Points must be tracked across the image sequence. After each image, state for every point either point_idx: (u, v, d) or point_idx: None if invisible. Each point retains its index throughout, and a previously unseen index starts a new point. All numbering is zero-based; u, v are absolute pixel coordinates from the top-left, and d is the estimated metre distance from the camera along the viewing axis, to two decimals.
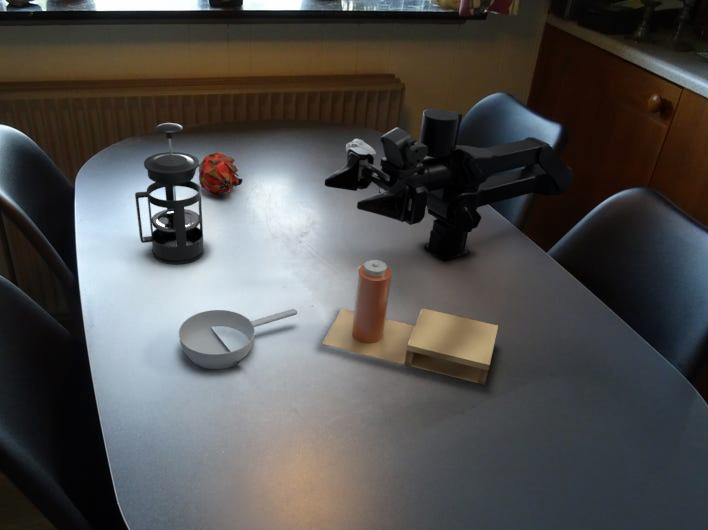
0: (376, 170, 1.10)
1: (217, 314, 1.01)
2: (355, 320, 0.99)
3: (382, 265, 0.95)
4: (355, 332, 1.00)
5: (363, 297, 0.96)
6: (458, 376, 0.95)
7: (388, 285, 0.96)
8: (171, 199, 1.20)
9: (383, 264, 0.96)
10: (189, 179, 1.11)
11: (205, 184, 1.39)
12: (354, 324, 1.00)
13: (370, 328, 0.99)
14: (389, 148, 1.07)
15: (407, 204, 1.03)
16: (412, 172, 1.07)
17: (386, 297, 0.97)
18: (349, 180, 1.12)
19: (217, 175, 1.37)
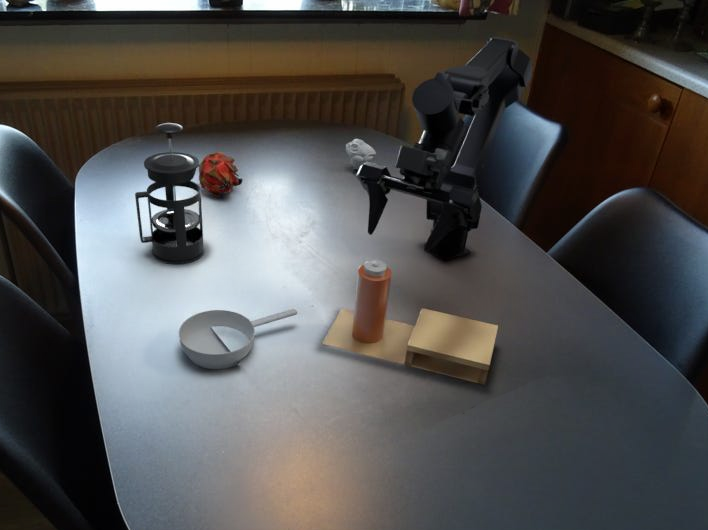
0: (401, 183, 1.01)
1: (217, 314, 1.01)
2: (355, 320, 0.99)
3: (382, 265, 0.95)
4: (355, 332, 1.00)
5: (363, 297, 0.96)
6: (458, 376, 0.95)
7: (388, 285, 0.96)
8: (172, 199, 1.20)
9: (383, 264, 0.96)
10: (189, 179, 1.11)
11: (205, 184, 1.39)
12: (354, 324, 1.00)
13: (370, 328, 0.99)
14: None
15: (465, 214, 0.98)
16: None
17: (386, 297, 0.97)
18: (381, 205, 1.03)
19: (217, 175, 1.37)
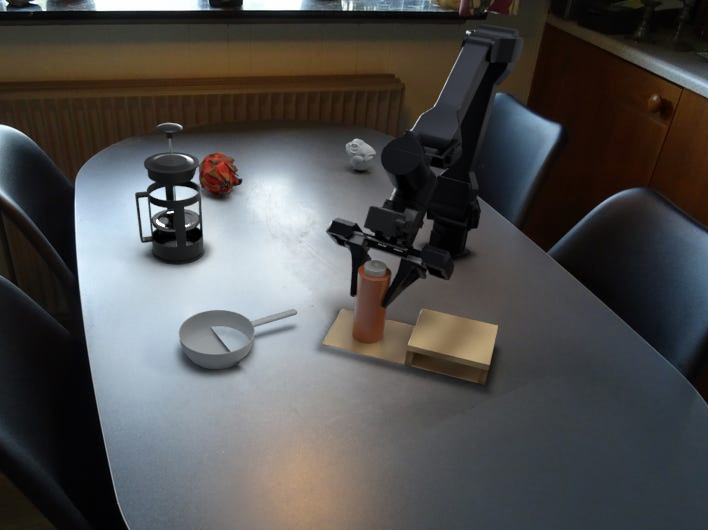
0: (385, 244, 0.97)
1: (217, 314, 1.01)
2: (355, 320, 0.99)
3: (382, 265, 0.95)
4: (355, 332, 1.00)
5: (363, 297, 0.96)
6: (458, 376, 0.95)
7: (388, 285, 0.96)
8: (171, 199, 1.20)
9: (383, 264, 0.96)
10: (189, 179, 1.11)
11: (205, 184, 1.39)
12: (354, 324, 1.00)
13: (370, 328, 0.99)
14: None
15: (423, 270, 0.96)
16: None
17: None
18: None
19: (217, 175, 1.37)
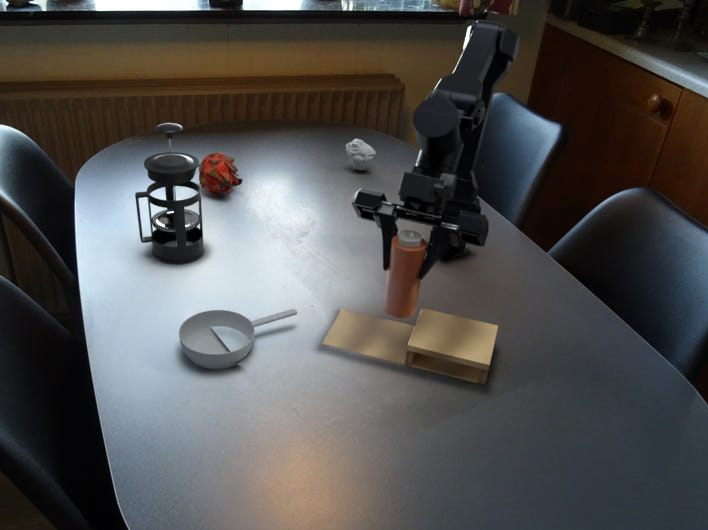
0: (416, 213, 0.93)
1: (217, 314, 1.01)
2: (388, 295, 0.95)
3: (417, 234, 0.91)
4: (388, 308, 0.96)
5: (399, 269, 0.91)
6: (458, 376, 0.95)
7: (424, 255, 0.91)
8: (172, 199, 1.20)
9: (417, 233, 0.91)
10: (189, 179, 1.11)
11: (205, 184, 1.39)
12: (387, 299, 0.95)
13: (405, 302, 0.94)
14: None
15: (459, 237, 0.92)
16: None
17: None
18: None
19: (217, 175, 1.37)
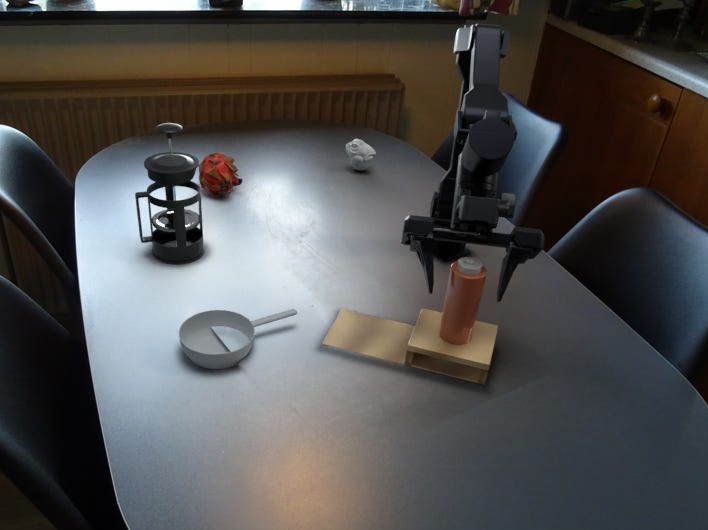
0: (454, 232, 0.92)
1: (217, 314, 1.01)
2: (449, 324, 0.94)
3: (476, 261, 0.91)
4: (449, 336, 0.95)
5: (463, 298, 0.91)
6: (458, 376, 0.95)
7: None
8: (171, 199, 1.20)
9: (476, 260, 0.91)
10: (189, 179, 1.11)
11: (205, 184, 1.39)
12: (447, 328, 0.94)
13: (467, 328, 0.94)
14: None
15: None
16: None
17: None
18: None
19: (217, 175, 1.37)
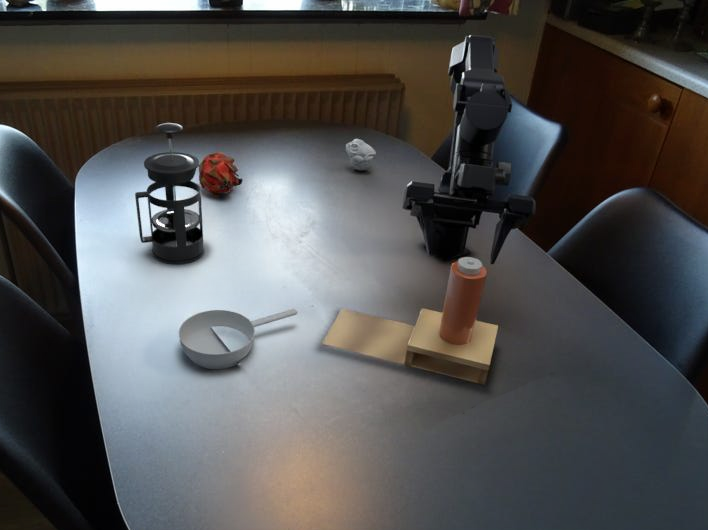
0: (452, 198, 0.99)
1: (217, 314, 1.01)
2: (449, 324, 0.94)
3: (476, 261, 0.91)
4: (449, 336, 0.95)
5: (463, 298, 0.91)
6: (458, 376, 0.95)
7: None
8: (172, 199, 1.20)
9: (476, 260, 0.91)
10: (189, 179, 1.11)
11: (205, 184, 1.39)
12: (447, 328, 0.94)
13: (467, 328, 0.94)
14: None
15: None
16: None
17: None
18: None
19: (217, 175, 1.37)
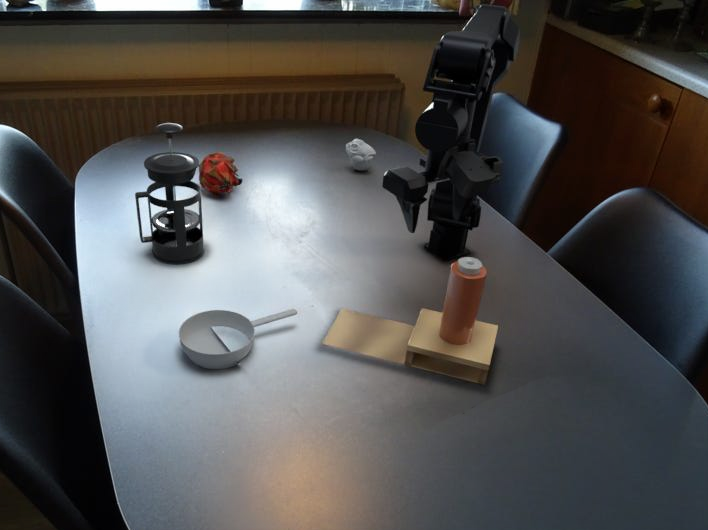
0: None
1: (217, 314, 1.01)
2: (449, 324, 0.94)
3: (476, 261, 0.91)
4: (449, 336, 0.95)
5: (463, 298, 0.91)
6: (458, 376, 0.95)
7: None
8: (171, 199, 1.20)
9: (476, 260, 0.91)
10: (189, 179, 1.11)
11: (205, 184, 1.39)
12: (447, 328, 0.94)
13: (467, 328, 0.94)
14: None
15: None
16: None
17: None
18: None
19: (217, 175, 1.37)
